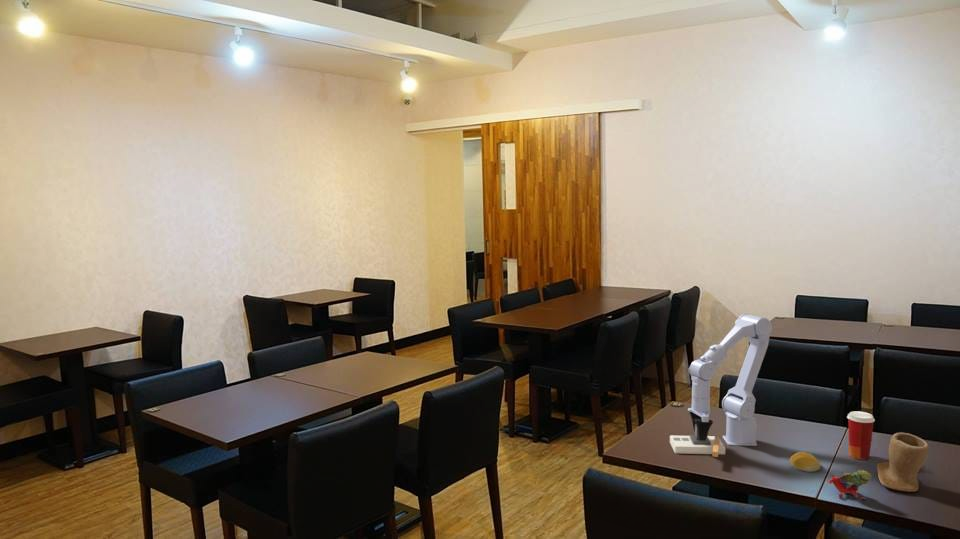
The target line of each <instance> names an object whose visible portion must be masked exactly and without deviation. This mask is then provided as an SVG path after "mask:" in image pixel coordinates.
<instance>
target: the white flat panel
mask: <svg viewBox="0 0 960 539" xmlns="http://www.w3.org/2000/svg"><path fill="white" fill-rule="evenodd" d="M715 436H716V435H714V436H713V435H712V436H711V435H707V437H708V438H709V440H710V442H711V445H701V444H693V443H692V441H691V440H690V435H673V434H672V435H669V443H670V446H671V448H672V450H673V452H674V453H675V454H683V455H684V454H686V455H687V454H691V455H692V454H695V455H712V451H713V445H714V438H715ZM718 455H726V446H725V444H724V443H723V442H722V440H721V439H720V445H719V452H718Z"/></svg>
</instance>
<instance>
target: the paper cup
mask: <svg viewBox="0 0 960 539" xmlns="http://www.w3.org/2000/svg"><path fill="white" fill-rule="evenodd" d="M846 418H847V419H848V422H847V423H848V454H849V457H850V456H851V457H850V458H852V457H853V458H852V459H854V458H857V459H856V460H858V459H868V458H869V459H870V453H871V446H872V440H873V430H874V422H875V421H876V420H875V418H874V416H873V414H871V413H868V412H865V411H860V410H858V411H855V410H854V411H850V412H849V413H847V416H846ZM869 459H868V460H869Z"/></svg>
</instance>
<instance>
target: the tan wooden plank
mask: <svg viewBox="0 0 960 539" xmlns="http://www.w3.org/2000/svg"><path fill="white" fill-rule="evenodd" d="M714 436H715V438H714V445H713V451H712V454H711V455H712V456H711V457H715V458H719V454H718V452H719V445H720V440H721V436H720V435H717V434H716V435H714Z"/></svg>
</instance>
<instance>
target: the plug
mask: <svg viewBox="0 0 960 539" xmlns="http://www.w3.org/2000/svg"><path fill="white" fill-rule="evenodd" d="M689 436H690V440H691V441H692V443H693V444H701V445H711V442H710V440H709V438H708V437H707V439H706V440H699V437H698V429H697V425H696V424H695V432H694V434H693V435H692V434H690V435H689Z"/></svg>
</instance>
